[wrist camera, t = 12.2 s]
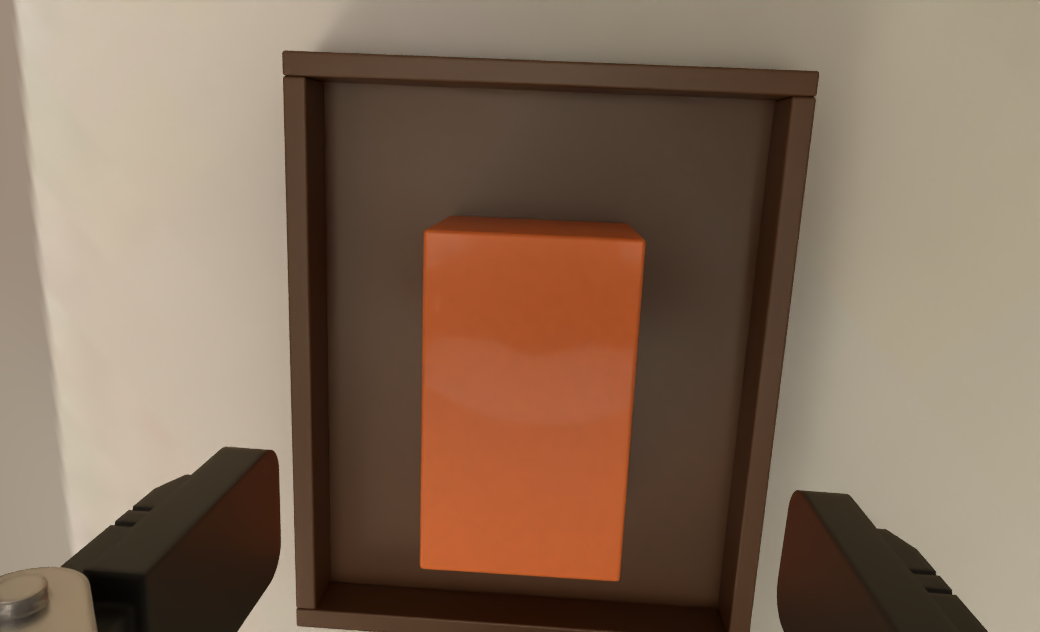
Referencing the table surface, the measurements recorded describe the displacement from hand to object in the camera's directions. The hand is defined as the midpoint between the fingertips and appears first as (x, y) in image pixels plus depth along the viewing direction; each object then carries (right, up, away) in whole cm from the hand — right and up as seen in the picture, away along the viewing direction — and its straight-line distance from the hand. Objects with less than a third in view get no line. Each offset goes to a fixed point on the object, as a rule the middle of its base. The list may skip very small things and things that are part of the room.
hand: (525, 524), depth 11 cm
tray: (0, +2, +10) cm, 10 cm away
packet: (0, +2, +10) cm, 10 cm away
